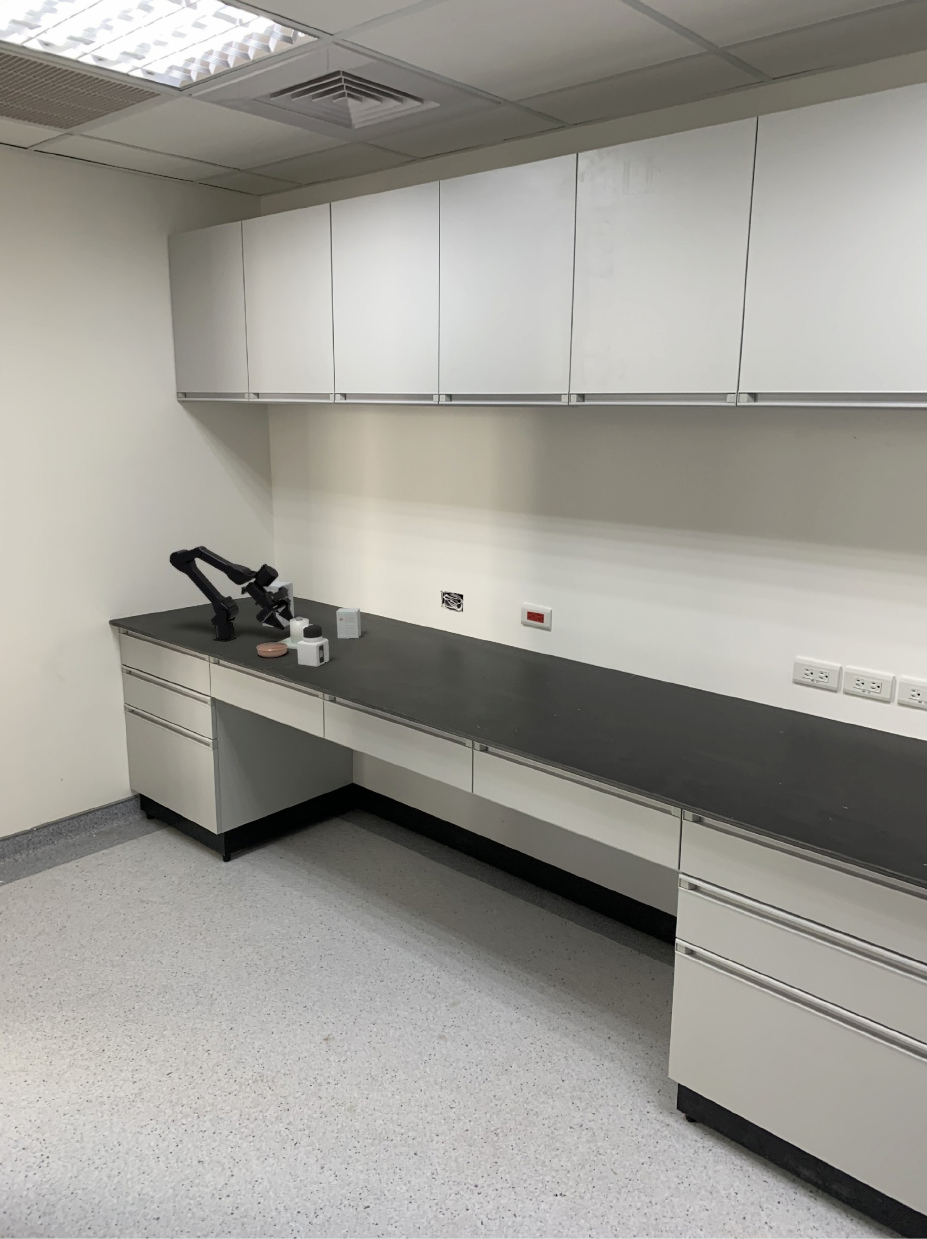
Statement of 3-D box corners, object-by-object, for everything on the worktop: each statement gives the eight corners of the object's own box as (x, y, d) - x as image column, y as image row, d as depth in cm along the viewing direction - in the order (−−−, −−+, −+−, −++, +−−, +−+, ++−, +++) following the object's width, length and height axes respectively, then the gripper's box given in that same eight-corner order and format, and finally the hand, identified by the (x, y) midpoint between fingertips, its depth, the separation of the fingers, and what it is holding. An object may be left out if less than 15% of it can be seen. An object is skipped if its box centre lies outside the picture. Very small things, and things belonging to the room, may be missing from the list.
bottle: (289, 643, 320) (288, 619, 318) (291, 639, 327) (290, 615, 324) (308, 643, 321) (307, 619, 319) (309, 638, 327) (309, 615, 325)
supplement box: (261, 626, 349) (259, 584, 345) (275, 620, 358) (272, 580, 354) (282, 628, 346) (279, 586, 342) (295, 622, 354) (293, 581, 350)
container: (329, 661, 302) (328, 624, 299) (316, 667, 295) (315, 629, 292) (310, 658, 305) (308, 622, 302) (297, 664, 298) (295, 627, 295)
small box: (361, 635, 335) (360, 608, 332) (358, 639, 330) (357, 611, 327) (340, 634, 336) (339, 607, 333) (337, 638, 330) (336, 611, 328)
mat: (273, 646, 320) (273, 644, 320) (294, 636, 333) (294, 634, 333) (305, 650, 315) (305, 648, 315) (326, 640, 327) (326, 638, 327)
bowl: (250, 656, 307) (250, 648, 307) (268, 649, 317) (268, 641, 316) (276, 660, 303) (275, 651, 302) (293, 652, 313) (293, 644, 312)
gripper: (262, 586, 312) (292, 618, 312) (285, 576, 329) (313, 606, 329) (243, 606, 315) (273, 638, 316) (266, 595, 333) (295, 625, 333)
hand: (289, 626), depth 323 cm, fingers open, 9 cm apart
